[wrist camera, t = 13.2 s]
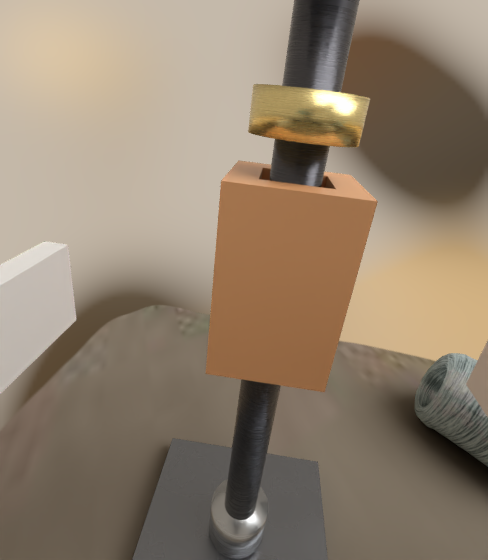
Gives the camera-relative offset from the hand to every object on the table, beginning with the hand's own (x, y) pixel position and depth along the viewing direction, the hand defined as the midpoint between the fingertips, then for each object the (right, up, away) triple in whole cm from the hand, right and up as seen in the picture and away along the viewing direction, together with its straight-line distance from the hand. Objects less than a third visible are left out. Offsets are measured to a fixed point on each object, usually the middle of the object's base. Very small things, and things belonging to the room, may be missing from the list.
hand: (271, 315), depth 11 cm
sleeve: (0, -2, +6) cm, 6 cm away
